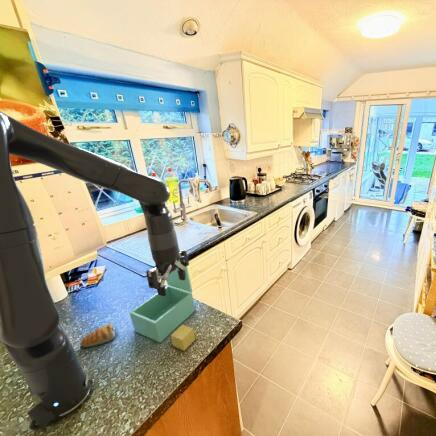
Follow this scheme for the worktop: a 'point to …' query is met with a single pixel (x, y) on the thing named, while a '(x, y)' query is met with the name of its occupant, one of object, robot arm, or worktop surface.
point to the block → (183, 337)
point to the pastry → (99, 336)
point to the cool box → (162, 313)
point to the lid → (176, 282)
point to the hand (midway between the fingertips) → (173, 287)
